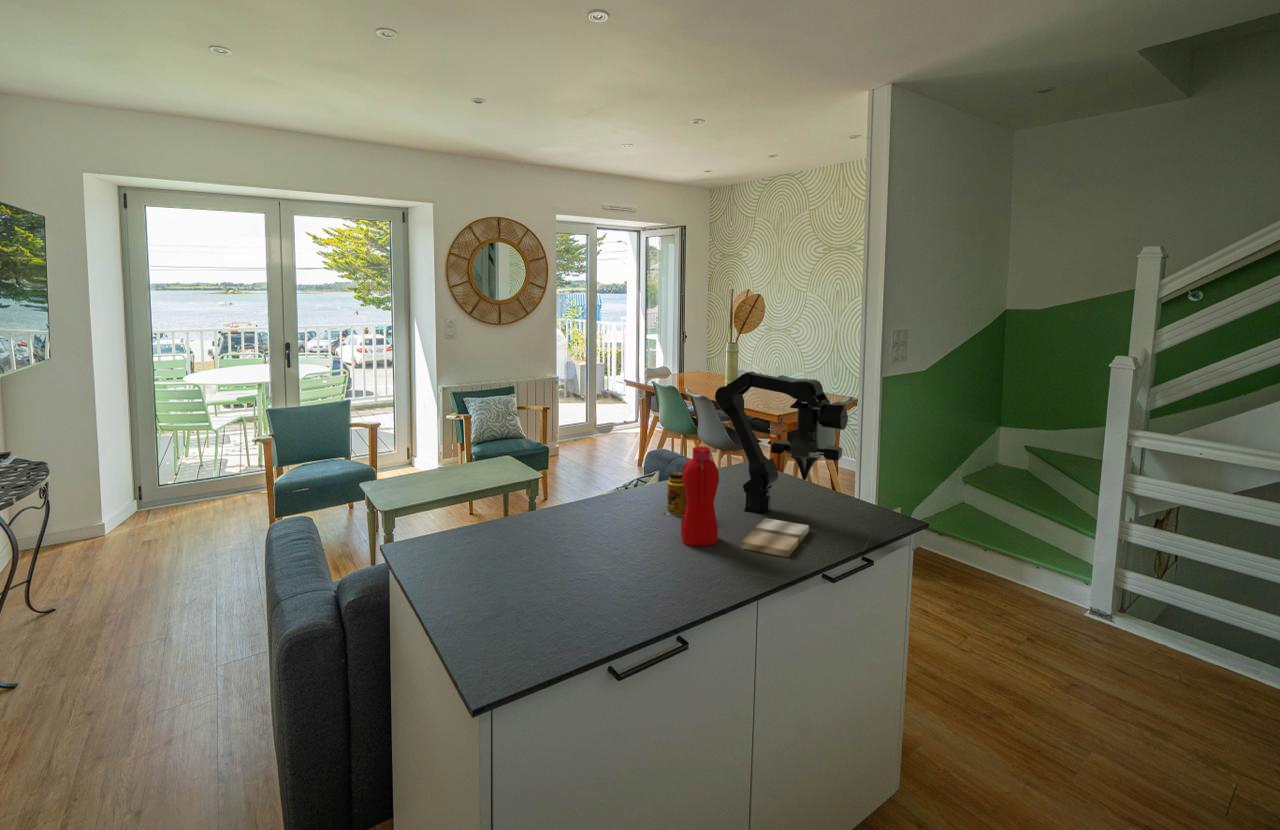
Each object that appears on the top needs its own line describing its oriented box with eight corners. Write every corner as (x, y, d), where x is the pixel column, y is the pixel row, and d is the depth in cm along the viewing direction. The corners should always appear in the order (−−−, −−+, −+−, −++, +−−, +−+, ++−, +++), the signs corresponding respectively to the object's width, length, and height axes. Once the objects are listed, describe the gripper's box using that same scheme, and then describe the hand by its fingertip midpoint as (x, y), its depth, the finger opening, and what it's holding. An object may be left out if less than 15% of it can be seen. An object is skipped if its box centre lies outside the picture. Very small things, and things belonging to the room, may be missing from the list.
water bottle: (682, 550, 163) (684, 453, 158) (680, 534, 174) (682, 443, 169) (719, 550, 163) (722, 453, 158) (714, 535, 174) (717, 443, 169)
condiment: (662, 514, 190) (663, 474, 188) (671, 505, 198) (672, 467, 195) (686, 517, 187) (687, 477, 185) (694, 508, 195) (695, 469, 193)
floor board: (741, 549, 164) (741, 541, 164) (753, 536, 173) (754, 529, 172) (788, 558, 158) (788, 550, 158) (798, 544, 167) (799, 537, 167)
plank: (755, 534, 173) (755, 527, 173) (765, 525, 181) (765, 518, 181) (800, 542, 168) (800, 535, 168) (808, 532, 176) (809, 525, 175)
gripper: (765, 426, 178) (763, 482, 181) (835, 434, 169) (832, 491, 172) (777, 420, 187) (775, 472, 190) (844, 426, 179) (840, 481, 182)
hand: (804, 479), depth 183 cm, fingers closed
